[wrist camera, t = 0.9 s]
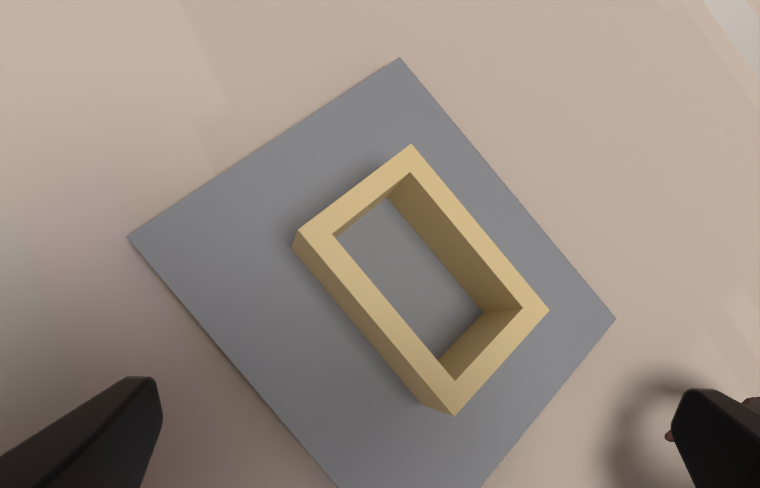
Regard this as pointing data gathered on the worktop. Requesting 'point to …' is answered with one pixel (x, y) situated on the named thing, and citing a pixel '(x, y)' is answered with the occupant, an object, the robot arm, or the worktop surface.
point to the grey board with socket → (381, 290)
